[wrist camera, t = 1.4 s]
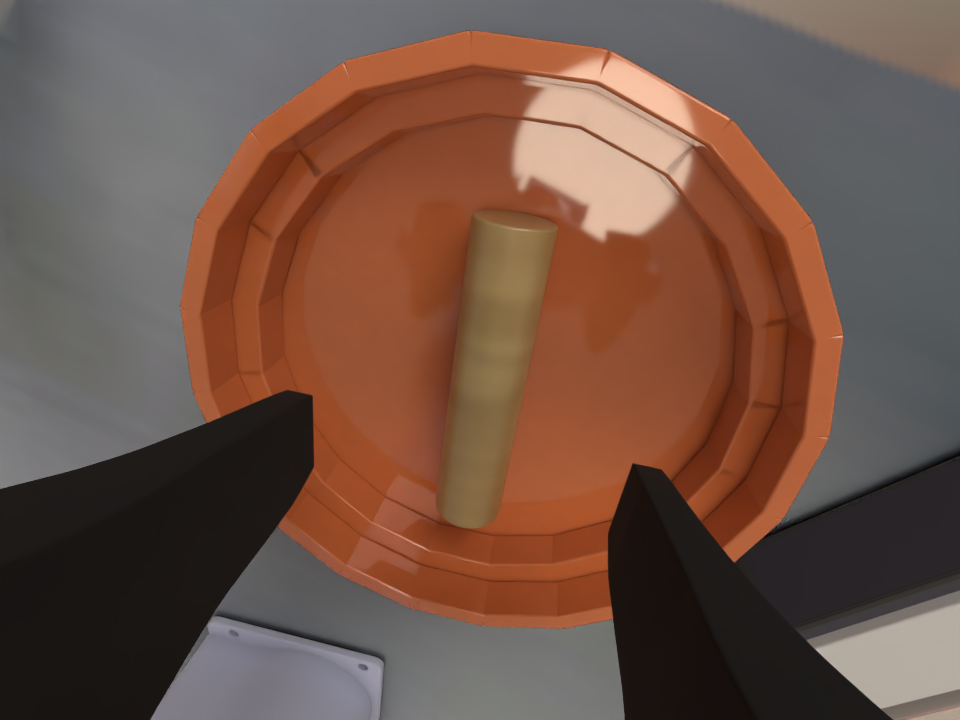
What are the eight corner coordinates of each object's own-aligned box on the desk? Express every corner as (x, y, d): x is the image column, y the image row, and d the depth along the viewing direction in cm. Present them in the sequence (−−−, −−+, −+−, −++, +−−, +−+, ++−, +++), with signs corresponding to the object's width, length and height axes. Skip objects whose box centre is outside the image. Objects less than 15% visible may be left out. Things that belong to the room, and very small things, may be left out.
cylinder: (503, 490, 17) (494, 535, 15) (443, 477, 18) (427, 520, 16) (559, 218, 13) (557, 234, 11) (480, 205, 13) (464, 218, 11)
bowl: (277, 487, 21) (217, 561, 17) (246, 21, 13) (129, -19, 10) (670, 578, 19) (694, 679, 16) (884, 112, 12) (1020, 105, 8)
